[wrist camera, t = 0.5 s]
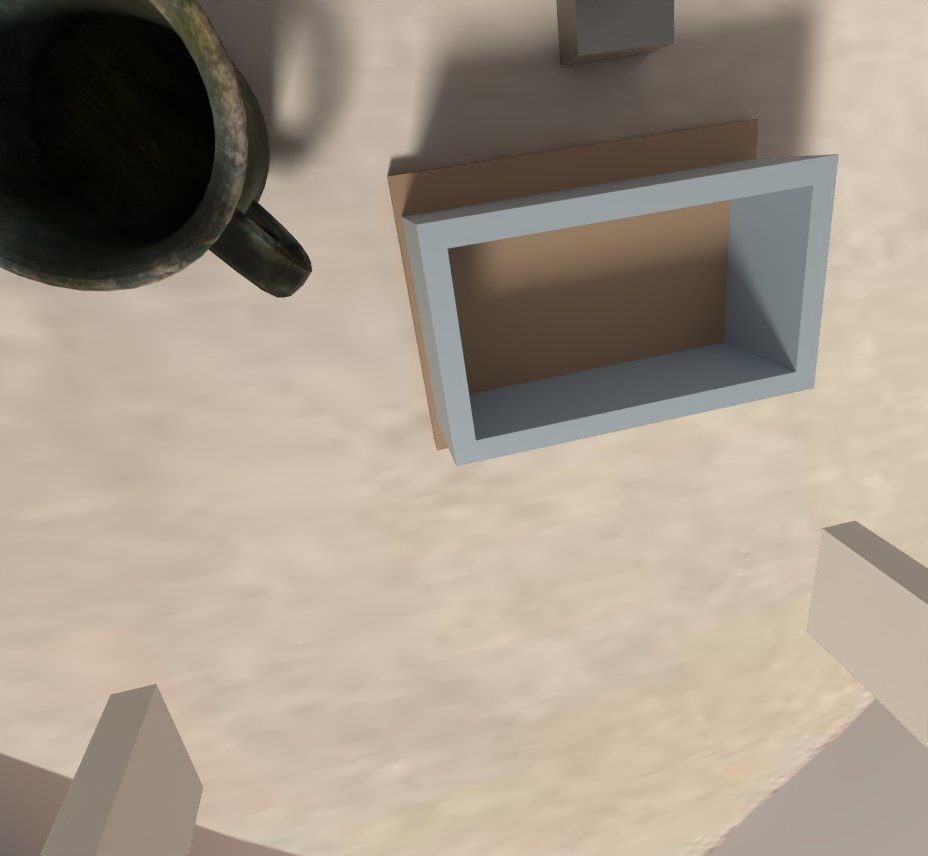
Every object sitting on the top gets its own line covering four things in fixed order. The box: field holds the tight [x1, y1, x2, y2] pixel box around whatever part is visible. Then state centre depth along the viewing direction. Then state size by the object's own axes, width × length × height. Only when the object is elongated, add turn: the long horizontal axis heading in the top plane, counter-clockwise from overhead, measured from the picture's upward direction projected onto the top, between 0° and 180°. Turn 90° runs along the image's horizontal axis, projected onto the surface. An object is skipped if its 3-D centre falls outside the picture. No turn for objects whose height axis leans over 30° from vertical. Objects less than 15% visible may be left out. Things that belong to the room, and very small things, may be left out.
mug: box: [0, 0, 312, 297], centre depth 24 cm, size 11×15×12 cm
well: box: [387, 119, 838, 466], centre depth 33 cm, size 16×21×7 cm
